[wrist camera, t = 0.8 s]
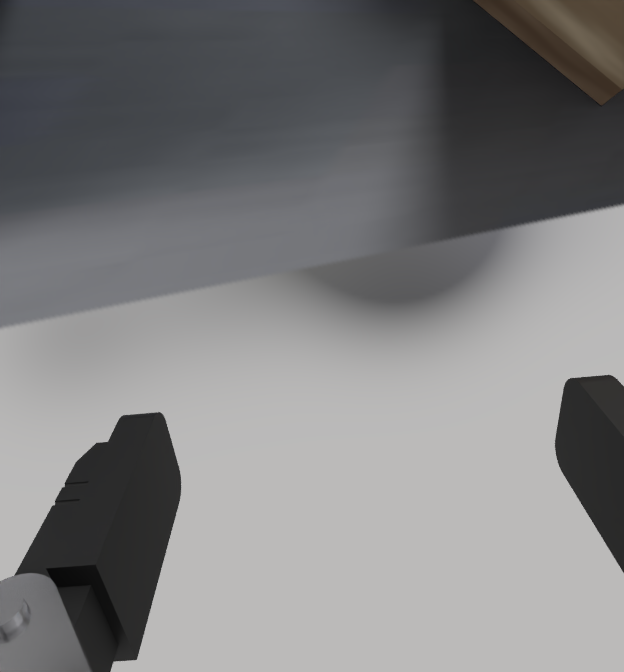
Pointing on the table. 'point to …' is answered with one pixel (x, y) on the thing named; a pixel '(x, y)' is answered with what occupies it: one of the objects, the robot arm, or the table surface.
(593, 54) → the brown tall stepped block
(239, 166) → the table surface
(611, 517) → the robot arm
